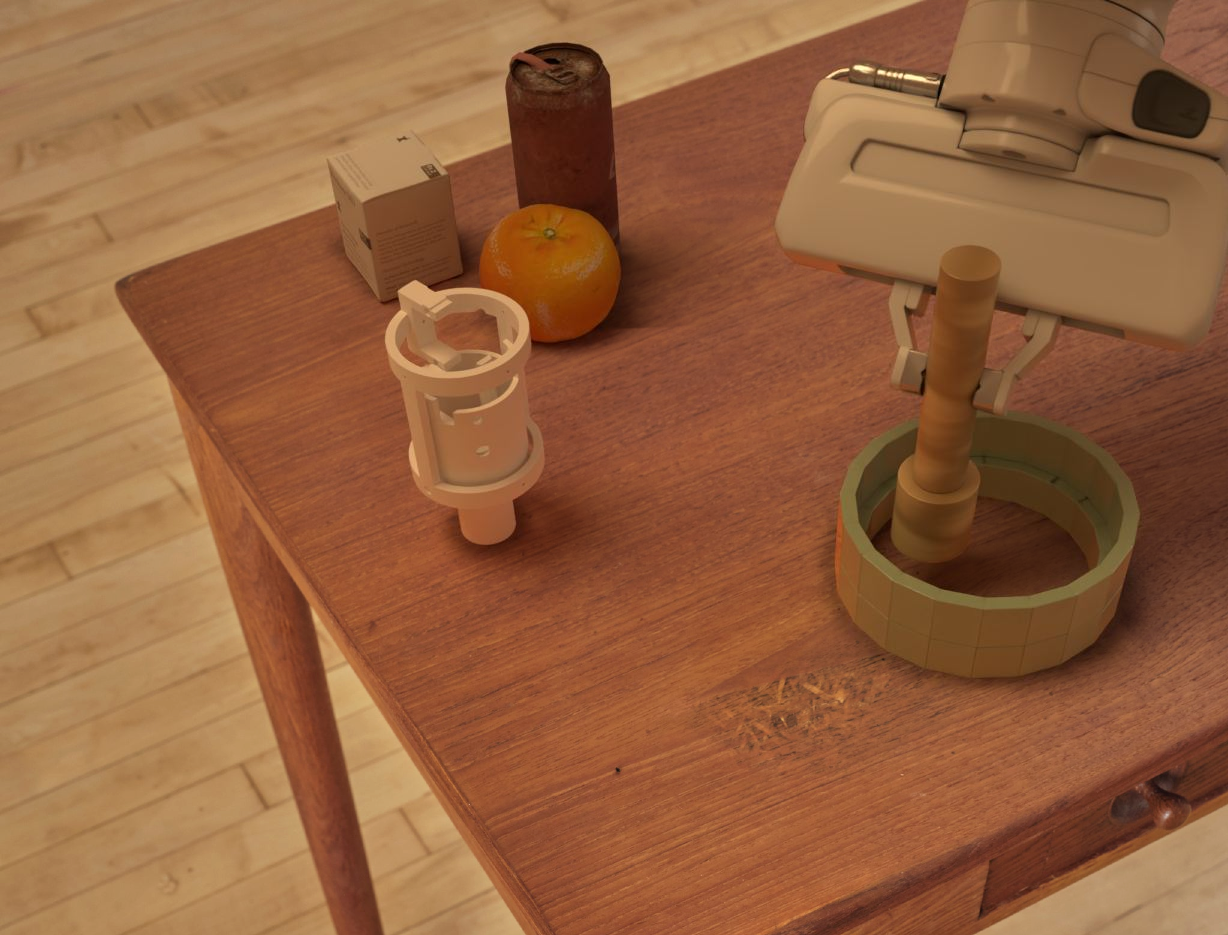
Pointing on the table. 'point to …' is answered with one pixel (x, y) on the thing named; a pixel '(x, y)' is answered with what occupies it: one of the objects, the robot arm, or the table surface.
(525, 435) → the cream plastic cylinder
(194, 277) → the table surface
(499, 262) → the fruit
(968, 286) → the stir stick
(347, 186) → the white cardboard box
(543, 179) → the can
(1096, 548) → the olive green ring
